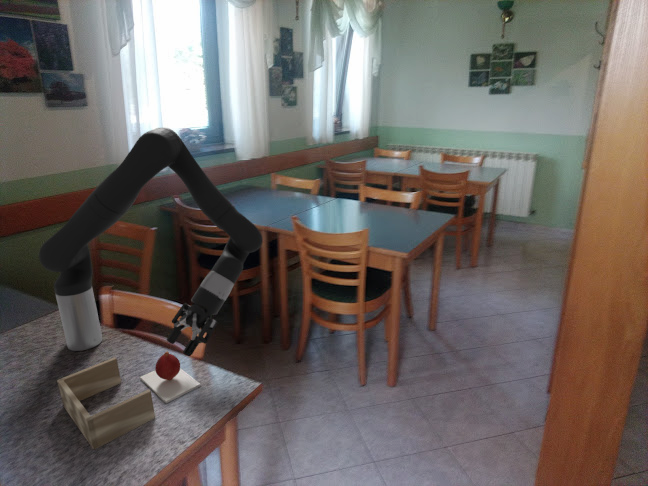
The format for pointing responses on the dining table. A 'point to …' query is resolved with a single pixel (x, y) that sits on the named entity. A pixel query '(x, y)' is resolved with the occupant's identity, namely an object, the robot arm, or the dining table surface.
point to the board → (170, 385)
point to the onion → (167, 366)
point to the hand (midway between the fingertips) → (177, 348)
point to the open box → (112, 419)
